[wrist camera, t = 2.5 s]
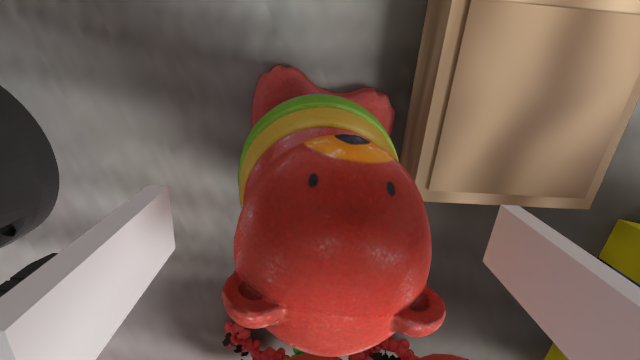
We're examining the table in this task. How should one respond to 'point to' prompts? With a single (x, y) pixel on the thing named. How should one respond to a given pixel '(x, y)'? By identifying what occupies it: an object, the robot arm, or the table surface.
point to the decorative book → (616, 262)
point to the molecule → (371, 356)
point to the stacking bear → (328, 223)
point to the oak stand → (521, 100)
